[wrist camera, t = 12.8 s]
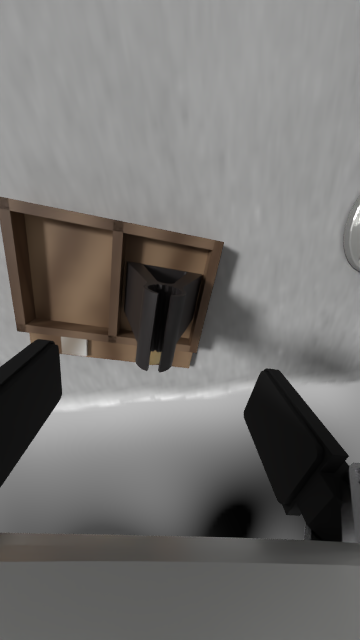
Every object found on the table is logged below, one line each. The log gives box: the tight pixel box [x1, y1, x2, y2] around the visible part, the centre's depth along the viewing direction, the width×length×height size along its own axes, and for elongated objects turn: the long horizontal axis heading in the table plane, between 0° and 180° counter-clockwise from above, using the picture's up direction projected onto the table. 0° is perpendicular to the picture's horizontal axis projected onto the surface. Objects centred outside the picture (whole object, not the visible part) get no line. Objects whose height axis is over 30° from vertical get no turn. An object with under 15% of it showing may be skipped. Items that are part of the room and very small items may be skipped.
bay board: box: [0, 197, 224, 368], centre depth 24 cm, size 22×18×3 cm
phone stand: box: [124, 261, 202, 372], centre depth 19 cm, size 9×6×12 cm, turn 79°
